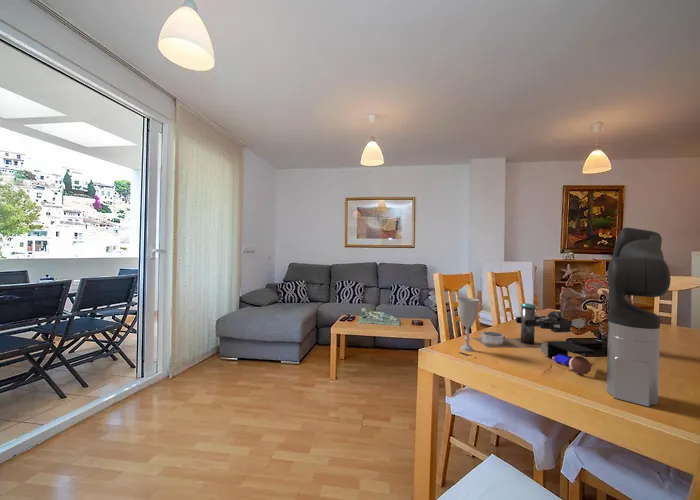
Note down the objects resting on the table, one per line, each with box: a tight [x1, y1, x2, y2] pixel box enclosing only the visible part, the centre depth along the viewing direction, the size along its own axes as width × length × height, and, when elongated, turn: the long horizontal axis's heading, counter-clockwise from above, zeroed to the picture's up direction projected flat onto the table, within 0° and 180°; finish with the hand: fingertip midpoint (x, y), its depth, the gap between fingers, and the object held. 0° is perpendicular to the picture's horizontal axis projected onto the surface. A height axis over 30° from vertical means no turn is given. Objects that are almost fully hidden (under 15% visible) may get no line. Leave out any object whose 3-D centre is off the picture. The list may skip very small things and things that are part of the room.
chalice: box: [456, 297, 480, 357], centre depth 105 cm, size 7×7×18 cm
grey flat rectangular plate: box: [472, 337, 542, 349], centre depth 115 cm, size 22×12×1 cm, turn 93°
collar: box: [480, 331, 506, 346], centre depth 114 cm, size 8×8×3 cm
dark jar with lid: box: [520, 302, 537, 344], centre depth 115 cm, size 5×5×14 cm
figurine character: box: [540, 340, 596, 376], centre depth 94 cm, size 7×8×15 cm
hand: (520, 321), depth 115 cm, fingers closed on dark jar with lid, 4 cm apart
